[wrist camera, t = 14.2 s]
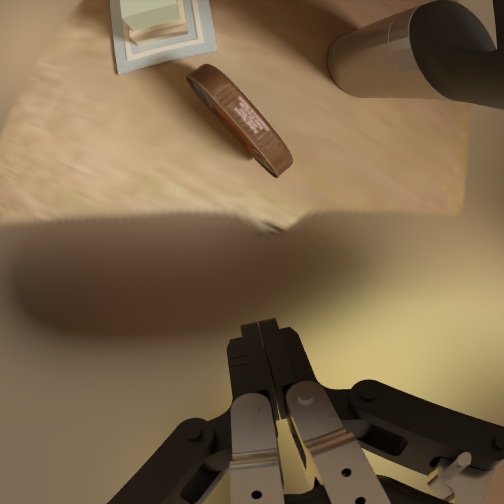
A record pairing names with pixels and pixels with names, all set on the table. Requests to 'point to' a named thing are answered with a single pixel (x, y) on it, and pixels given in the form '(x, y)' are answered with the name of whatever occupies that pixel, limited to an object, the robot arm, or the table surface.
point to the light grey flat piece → (166, 49)
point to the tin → (241, 118)
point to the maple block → (161, 29)
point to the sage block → (148, 12)
